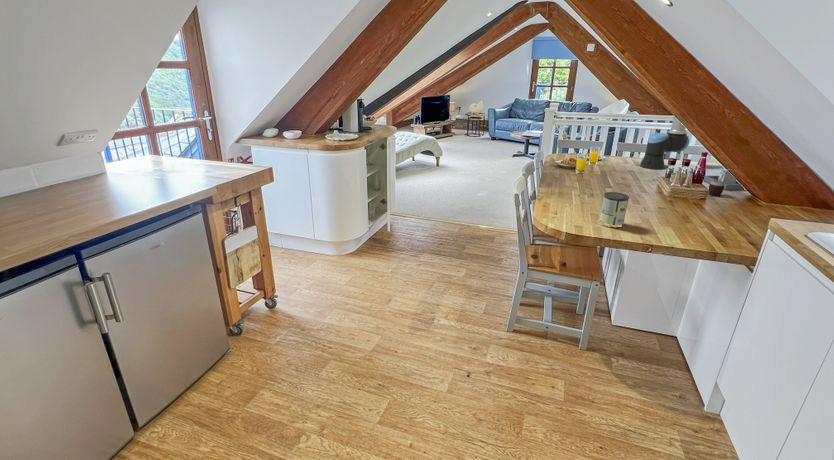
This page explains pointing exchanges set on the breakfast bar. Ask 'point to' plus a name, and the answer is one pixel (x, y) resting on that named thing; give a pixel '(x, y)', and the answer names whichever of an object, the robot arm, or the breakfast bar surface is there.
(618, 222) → the coffee can
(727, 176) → the medicine box
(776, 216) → the breakfast bar surface
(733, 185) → the sorting tray
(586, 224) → the breakfast bar surface
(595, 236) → the breakfast bar surface
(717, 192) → the mate gourd
